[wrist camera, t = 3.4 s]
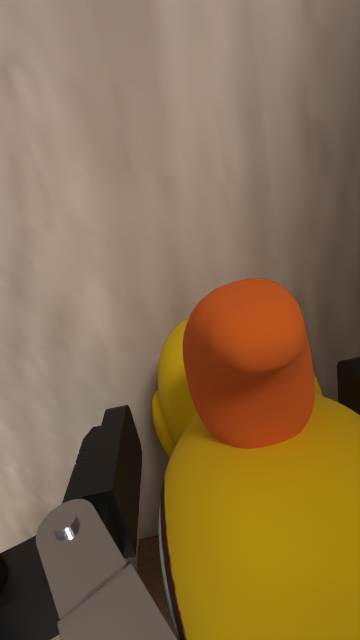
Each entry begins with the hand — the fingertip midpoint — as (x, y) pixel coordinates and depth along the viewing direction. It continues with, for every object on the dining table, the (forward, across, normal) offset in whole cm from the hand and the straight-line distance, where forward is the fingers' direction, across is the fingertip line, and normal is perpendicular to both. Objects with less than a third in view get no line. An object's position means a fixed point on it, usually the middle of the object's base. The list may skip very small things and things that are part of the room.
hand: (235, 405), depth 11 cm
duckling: (+2, 0, 0) cm, 2 cm away
